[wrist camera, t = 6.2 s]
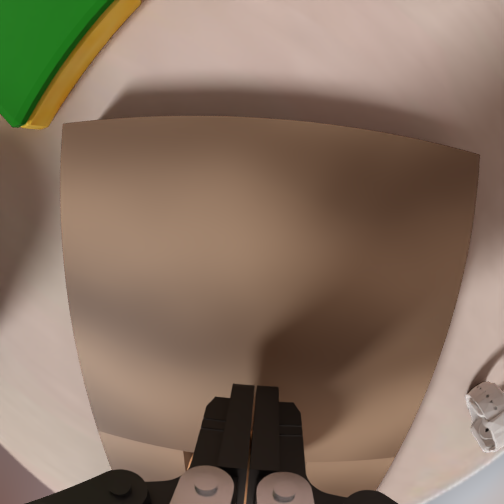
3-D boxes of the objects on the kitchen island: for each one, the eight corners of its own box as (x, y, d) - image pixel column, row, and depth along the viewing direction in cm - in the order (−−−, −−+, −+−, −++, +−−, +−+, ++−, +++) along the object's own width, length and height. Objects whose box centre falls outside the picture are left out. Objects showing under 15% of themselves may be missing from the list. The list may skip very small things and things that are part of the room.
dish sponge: (49, 134, 12) (14, 131, 9) (-44, 36, 10) (-68, 30, 8) (150, 2, 10) (128, -24, 8) (19, -53, 8) (-1, -66, 6)
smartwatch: (454, 384, 13) (488, 435, 9) (487, 361, 13) (526, 406, 9) (463, 420, 14) (490, 467, 10) (493, 400, 13) (524, 443, 9)
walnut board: (91, 128, 11) (62, 123, 9) (451, 155, 10) (479, 154, 8) (138, 492, 17) (130, 513, 15) (343, 510, 16) (346, 532, 14)
